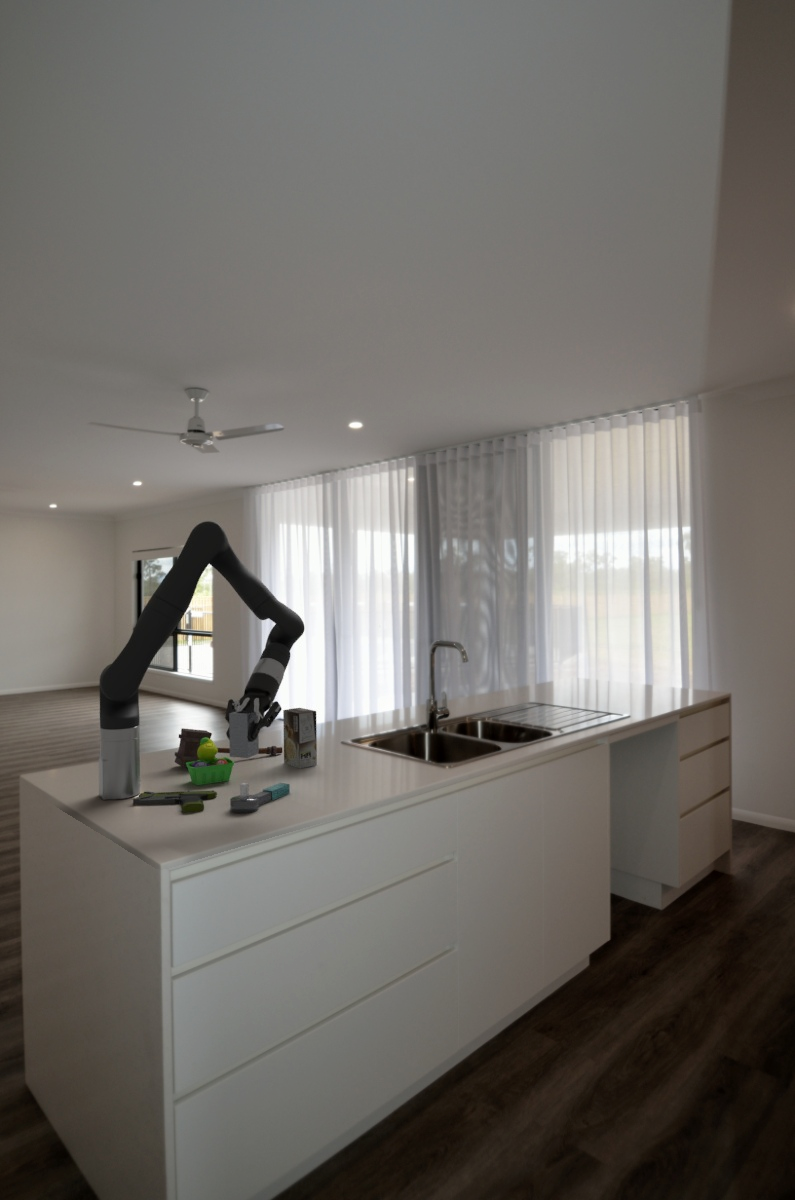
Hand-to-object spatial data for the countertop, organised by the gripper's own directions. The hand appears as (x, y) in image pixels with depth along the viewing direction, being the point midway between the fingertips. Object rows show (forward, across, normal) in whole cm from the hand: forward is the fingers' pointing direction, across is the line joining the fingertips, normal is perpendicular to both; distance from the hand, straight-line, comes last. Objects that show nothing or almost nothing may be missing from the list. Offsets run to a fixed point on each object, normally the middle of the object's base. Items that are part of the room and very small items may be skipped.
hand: (239, 739), depth 158 cm
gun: (+12, -19, +13) cm, 26 cm away
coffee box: (-20, -8, +44) cm, 49 cm away
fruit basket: (-3, -23, +27) cm, 36 cm away
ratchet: (+6, +1, +17) cm, 19 cm away
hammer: (-18, -29, +42) cm, 55 cm away
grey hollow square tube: (+2, 0, +4) cm, 5 cm away
